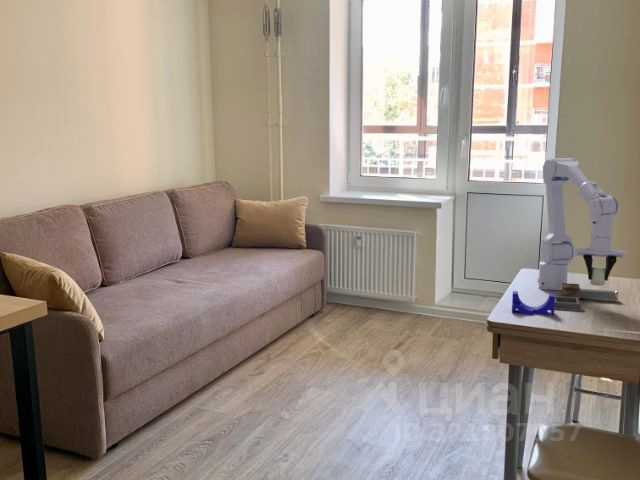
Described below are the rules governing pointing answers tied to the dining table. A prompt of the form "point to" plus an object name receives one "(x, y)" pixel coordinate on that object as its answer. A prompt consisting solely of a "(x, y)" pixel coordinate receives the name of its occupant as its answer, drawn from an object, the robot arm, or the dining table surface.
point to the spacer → (598, 276)
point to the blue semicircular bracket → (533, 310)
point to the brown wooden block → (570, 290)
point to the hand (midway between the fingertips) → (597, 279)
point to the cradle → (568, 304)
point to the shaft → (599, 294)
